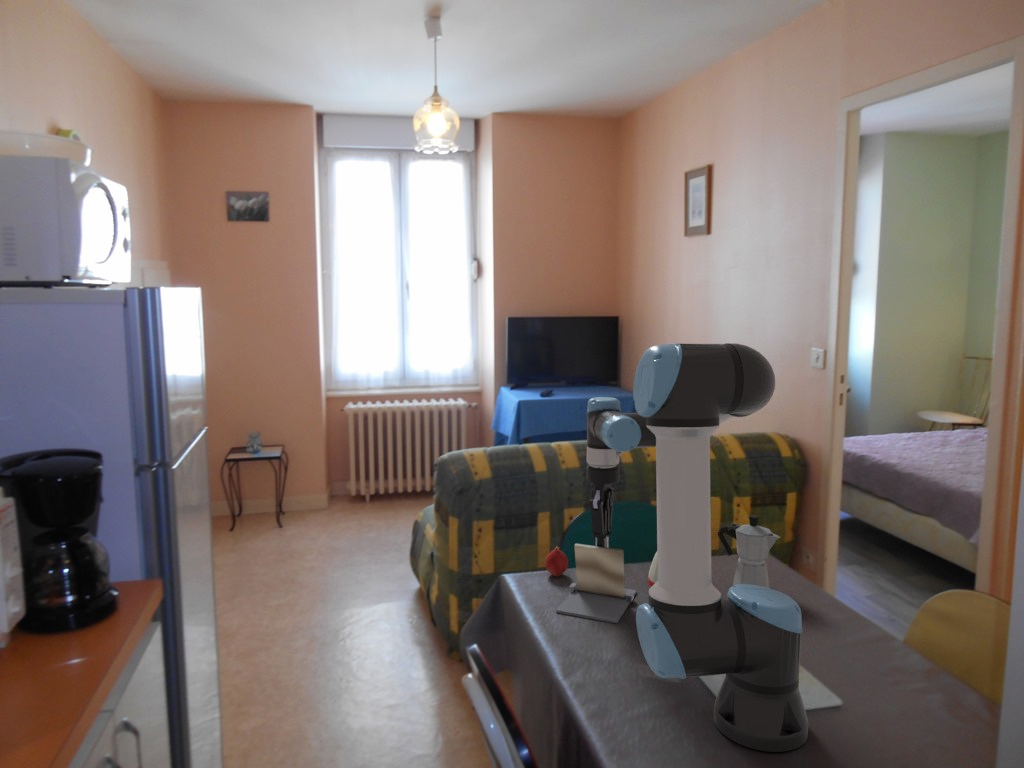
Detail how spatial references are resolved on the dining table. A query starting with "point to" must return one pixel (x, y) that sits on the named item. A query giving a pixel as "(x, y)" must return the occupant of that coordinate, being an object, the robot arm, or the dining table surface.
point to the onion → (556, 562)
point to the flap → (600, 570)
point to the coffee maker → (750, 551)
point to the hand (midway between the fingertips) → (601, 563)
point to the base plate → (594, 606)
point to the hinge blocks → (628, 597)
